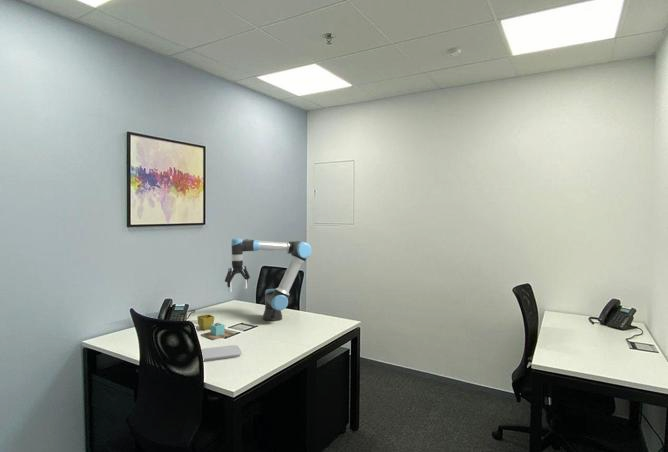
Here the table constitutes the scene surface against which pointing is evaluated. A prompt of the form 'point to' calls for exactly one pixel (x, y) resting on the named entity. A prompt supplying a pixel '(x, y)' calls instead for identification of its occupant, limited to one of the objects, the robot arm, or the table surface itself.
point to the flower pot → (205, 321)
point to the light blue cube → (217, 329)
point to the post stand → (213, 337)
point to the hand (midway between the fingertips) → (237, 290)
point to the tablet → (221, 352)
